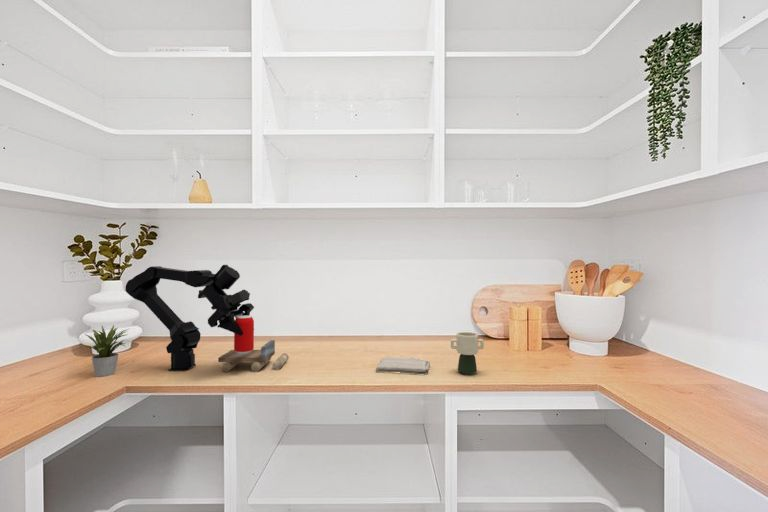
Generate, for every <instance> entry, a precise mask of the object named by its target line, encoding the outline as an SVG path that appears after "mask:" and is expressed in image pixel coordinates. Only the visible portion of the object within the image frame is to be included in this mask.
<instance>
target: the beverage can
mask: <svg viewBox="0 0 768 512" xmlns="http://www.w3.org/2000/svg"><path fill="white" fill-rule="evenodd" d="M234 320H235V321H236V323H237V324H238V326H239V327H240V328H241V330H242V332H243V335H241V336H240V335H238V334H236V333H233V335H234V336H233V338H234V340H233V342H234V343H233V350H235V352H237V353H239V354H245V353H249V352H251V351H252V350H255V349H254V346H255V345H254V344H255V341H254V340H255V335H254V333H255V327H254V326H255V321H254V318H253V316H251V315H249V316H238V317H237V318H234Z"/></svg>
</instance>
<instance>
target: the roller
mask: <svg viewBox="0 0 768 512" xmlns="http://www.w3.org/2000/svg"><path fill="white" fill-rule="evenodd" d="M289 357H290V356H289V355H288V354H287V353H282V354H281V355H279V356H278V358H277V359H276V360H274V362H273V363H272V367H273V368H274V369H275V370H280V369H281V368H282V367H283V366H284V365H285V364H286V363H287V362H288V360H289Z"/></svg>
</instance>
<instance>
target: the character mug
mask: <svg viewBox="0 0 768 512" xmlns="http://www.w3.org/2000/svg"><path fill="white" fill-rule="evenodd" d="M455 337H456V338H451V339H450V348H451V349H452V350H456V352H457V353H458V354H459V357H458V363H457V371H458V372H459V373H461V374H462V373H463V374H466V375H472V374H475V373H477V372H478V371H477V370H478V369H477V362H476V361H477V359H476V356H475V355H478V352H479V350H483V349H484V347H485V345H484V343H485V342H484V339H483V338H479V334H478V333H476V332H472V331H459V332H456V336H455ZM454 343H456V345H455V344H454ZM479 343H480V345H479Z"/></svg>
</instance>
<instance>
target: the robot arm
mask: <svg viewBox="0 0 768 512" xmlns="http://www.w3.org/2000/svg"><path fill="white" fill-rule="evenodd" d="M240 278H241V275H240V273H239V271H238V270H236V269H235V268H233V267H231V266H229V265H228V264H222V265H221V266H220V268H219V269H218V270H217V272H216V273H213V272H212V271H211V270H209V269H200V270H186V269H185V270H183V269H178V268H170V267H163V266H160V265H159V266H149V267H148V268H146V269H145V270H144V271H142V272H140V273H138V274H137V275H135V276H134V277H132V278H131V279H129V280H128V281H127V282H126V283H125V284H126V285H125V288H124V290H125V292H126V294H128V295H129V296H130V297H131V298H133V299H135V300H136V301H139V302H142V303H144V304H145V305H146V307H147V308H148V309H149V310H150V311H151V312H152V314H154V315H155V317H156V318H157V319H158V320H159V321H160V322H161V323H162V324H163V325H164V327H166V329H167V330H168V331H169V337H170V340H171V341H170V342H169V343H168V345H167V346H166V347H165V349H166V352H167V354H170V368H168V370H167V371H171V372H172V371H175V372H176V370H177V372H178V371H179V370H180V371H181V370H182V371H183V372H184V371H185V370H186V371H189V370H190V369H192V368H194V367H196V358H195V357H196V354H195V353H194V351H195V350H194V349H197V347H198V344H199V343H200V340H201V336H202V335H201V332H200V328H199V327H197V326H196V325H195V323H194V322H192V321H187V322H184V320H182V319H181V318H180V317H179V316H178V315H177V314H176V313H175V312H174V310H172V308H171V307H170V306H169V305H168V304H167V303H166V302H165V301H164V300H163V298H162V297H161V296H159V294H158V288H157V285H158V284H159V283H160V280H161V279H162V280H169V281H175V282H182V283H184V284H185V285H186V286H190V287H192V288H202V287H203V289H201V290H198V294H197V298H198V299H207V300H208V301H209V303H210V304H211V307H210V309H211V310H212V311H213V310H214V311H213V313H212V314H211V315H210V316H209V317H208V318H207V324H208V325H209V326H210V328H215V327H217V328H218V329H219V328H220V329H223V330H226V331H228V332H231V333H233V334H234V333H236V334H238V335H240V336H241V335H243V332H242V330H241V328H240V327H239V326H238V324H237V323H236V321H235V319H236V318H237V317H238V316H251V315H250V313H252V311H253V310H254V309H255V306H254V305H253V304H252V303H249V302H247V303H243V302H245V301H249V300H250V296H251V293H250V292H249V291H248V290H246V289H241V290H240V291H238V292H237V291H236V293H234V294H227V293H226V291H225V290H229V289H230V288H232V286H233V285H235V283H236V282H237V281H238V280H239V279H240ZM242 303H243V304H242Z"/></svg>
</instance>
